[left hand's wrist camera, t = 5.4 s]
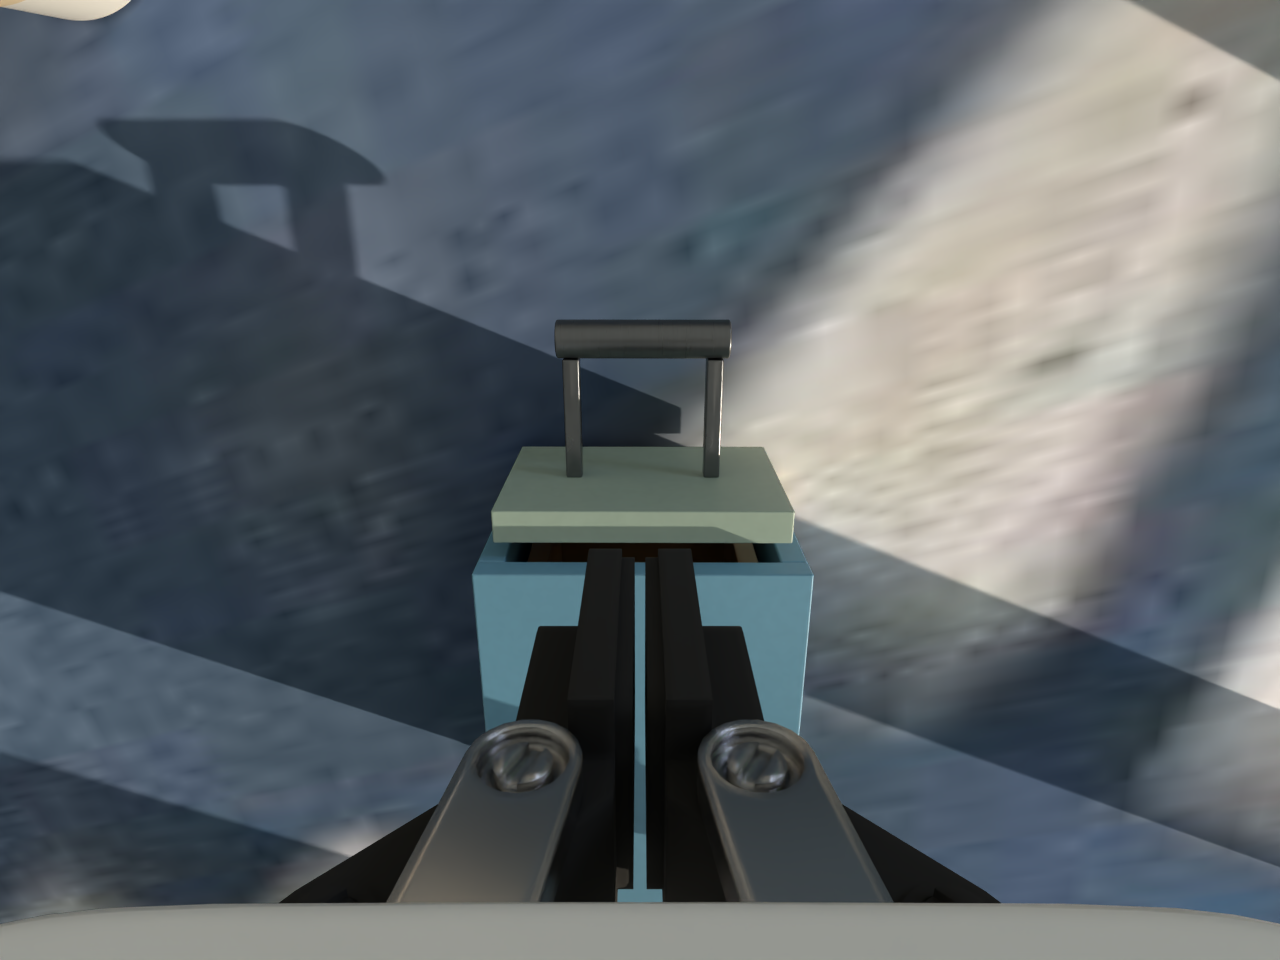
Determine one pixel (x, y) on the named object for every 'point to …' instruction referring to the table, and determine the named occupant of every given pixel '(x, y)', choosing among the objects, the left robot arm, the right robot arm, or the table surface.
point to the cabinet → (728, 596)
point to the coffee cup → (67, 7)
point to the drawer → (643, 467)
